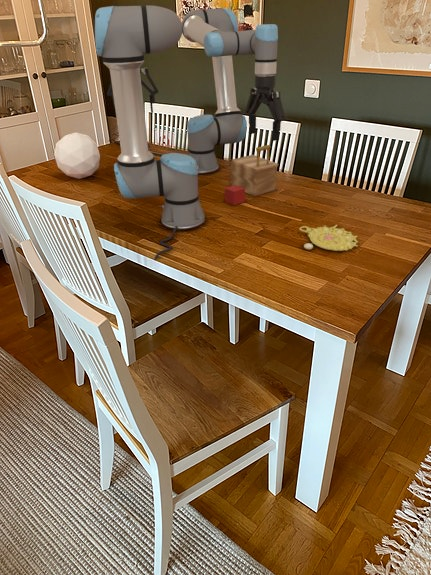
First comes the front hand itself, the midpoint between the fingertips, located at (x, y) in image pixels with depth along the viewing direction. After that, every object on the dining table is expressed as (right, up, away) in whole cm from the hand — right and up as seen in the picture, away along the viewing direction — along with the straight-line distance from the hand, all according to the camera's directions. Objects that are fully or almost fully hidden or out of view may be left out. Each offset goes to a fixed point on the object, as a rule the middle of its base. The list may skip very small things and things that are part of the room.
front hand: (135, 113), depth 181 cm
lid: (+48, -22, -3) cm, 53 cm away
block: (+40, -38, -9) cm, 56 cm away
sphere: (-28, -21, +21) cm, 41 cm away
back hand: (+51, -14, -13) cm, 55 cm away
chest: (+48, -30, +3) cm, 57 cm away
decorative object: (+69, -56, -39) cm, 97 cm away
